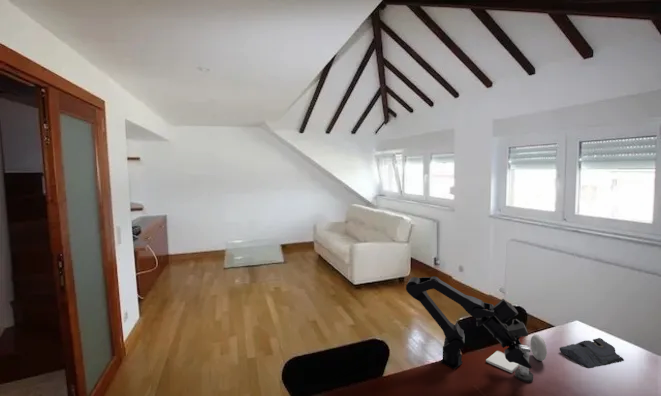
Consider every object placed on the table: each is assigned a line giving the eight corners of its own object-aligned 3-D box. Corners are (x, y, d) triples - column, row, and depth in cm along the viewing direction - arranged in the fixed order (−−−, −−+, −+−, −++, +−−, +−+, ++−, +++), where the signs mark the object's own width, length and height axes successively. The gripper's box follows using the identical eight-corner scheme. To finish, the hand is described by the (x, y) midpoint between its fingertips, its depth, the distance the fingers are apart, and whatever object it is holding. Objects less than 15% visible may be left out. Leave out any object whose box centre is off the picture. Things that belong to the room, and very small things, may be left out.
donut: (547, 366, 131) (548, 342, 130) (538, 365, 132) (539, 341, 131) (537, 352, 141) (538, 330, 140) (528, 351, 142) (529, 329, 141)
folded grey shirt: (552, 350, 143) (552, 340, 143) (590, 342, 149) (590, 332, 149) (587, 371, 129) (588, 359, 128) (628, 360, 134) (629, 349, 134)
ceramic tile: (486, 361, 135) (486, 359, 135) (497, 352, 142) (497, 350, 141) (511, 373, 128) (511, 370, 127) (522, 363, 134) (522, 360, 134)
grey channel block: (534, 383, 121) (535, 352, 120) (516, 380, 123) (516, 349, 122) (531, 374, 127) (532, 344, 126) (514, 370, 129) (514, 341, 128)
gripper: (516, 327, 116) (552, 363, 113) (510, 306, 133) (541, 337, 130) (491, 344, 120) (525, 380, 116) (488, 322, 137) (518, 352, 134)
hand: (528, 361), depth 124 cm, fingers open, 9 cm apart
